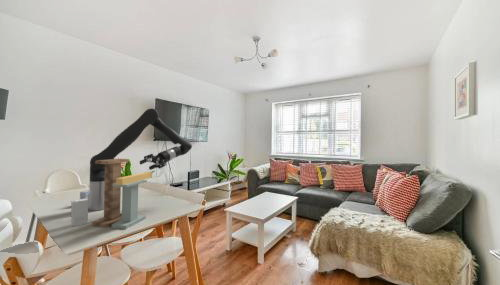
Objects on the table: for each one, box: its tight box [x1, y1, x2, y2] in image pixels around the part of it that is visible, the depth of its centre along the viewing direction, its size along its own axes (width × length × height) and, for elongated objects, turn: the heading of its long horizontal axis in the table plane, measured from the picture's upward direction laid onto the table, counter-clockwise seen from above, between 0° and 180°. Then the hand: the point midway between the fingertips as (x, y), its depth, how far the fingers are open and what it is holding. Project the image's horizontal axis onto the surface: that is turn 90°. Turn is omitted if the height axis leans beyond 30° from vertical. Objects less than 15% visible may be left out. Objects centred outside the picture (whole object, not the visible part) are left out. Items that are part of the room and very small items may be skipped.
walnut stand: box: [90, 158, 130, 228], centre depth 107 cm, size 10×14×32 cm
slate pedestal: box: [111, 179, 148, 230], centre depth 105 cm, size 8×14×21 cm, turn 170°
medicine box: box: [79, 189, 90, 200], centre depth 134 cm, size 8×4×9 cm, turn 168°
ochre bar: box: [116, 171, 153, 185], centre depth 108 cm, size 4×22×3 cm, turn 170°
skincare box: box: [70, 198, 89, 227], centre depth 102 cm, size 6×4×12 cm
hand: (144, 165), depth 121 cm, fingers open, 8 cm apart
